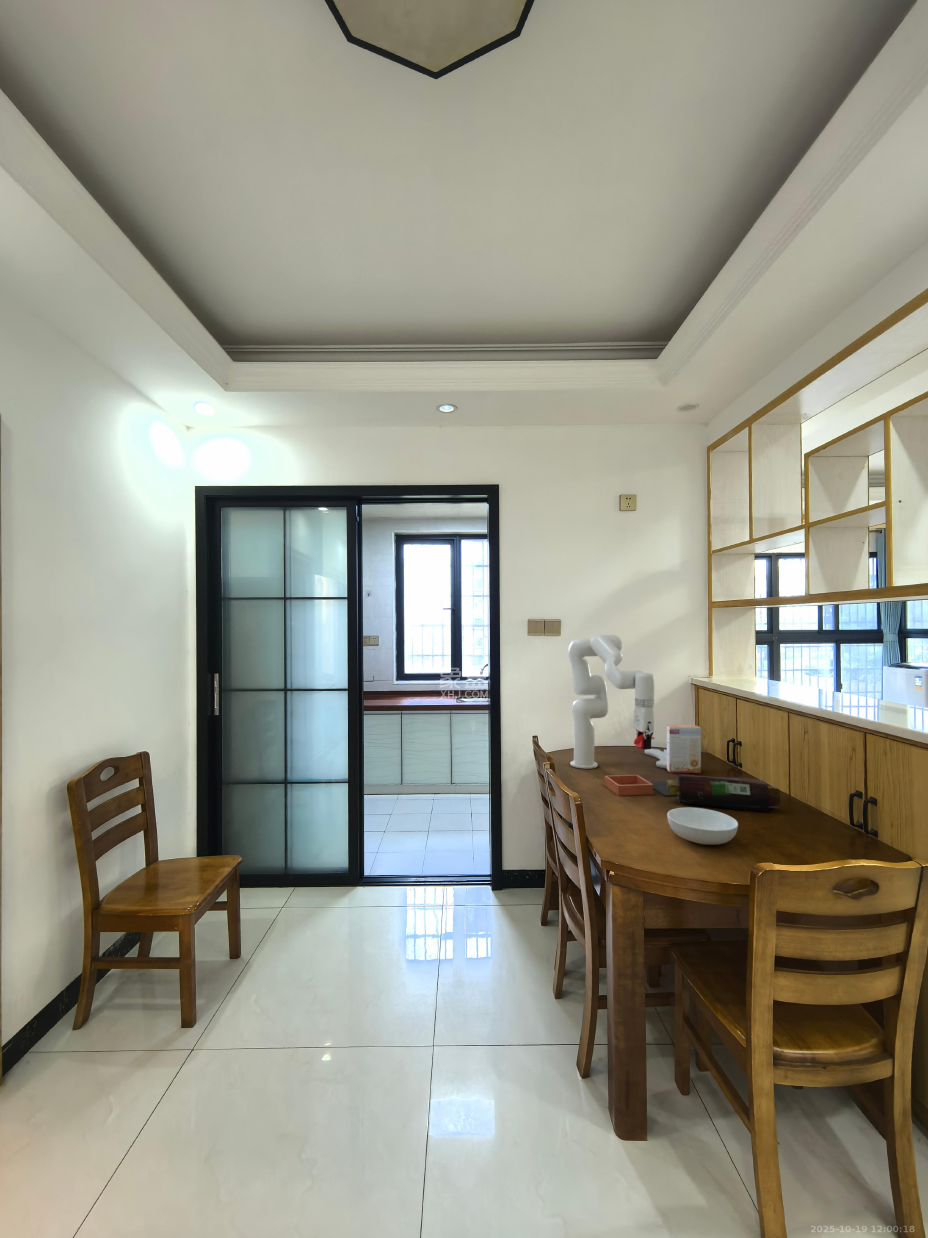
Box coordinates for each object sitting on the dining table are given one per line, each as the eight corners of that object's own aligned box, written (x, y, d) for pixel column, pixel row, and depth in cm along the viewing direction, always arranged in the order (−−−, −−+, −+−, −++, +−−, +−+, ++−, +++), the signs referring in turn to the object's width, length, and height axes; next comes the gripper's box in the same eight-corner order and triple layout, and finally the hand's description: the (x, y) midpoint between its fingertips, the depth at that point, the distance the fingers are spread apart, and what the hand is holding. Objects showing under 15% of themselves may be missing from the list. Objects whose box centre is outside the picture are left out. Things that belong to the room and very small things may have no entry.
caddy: (604, 785, 247) (604, 775, 247) (637, 784, 249) (637, 774, 249) (618, 795, 232) (618, 785, 232) (653, 794, 234) (653, 784, 234)
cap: (636, 750, 238) (636, 735, 238) (632, 747, 244) (632, 732, 244) (656, 750, 238) (656, 736, 238) (651, 747, 244) (652, 733, 244)
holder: (658, 769, 274) (659, 758, 274) (642, 752, 308) (643, 742, 308) (701, 770, 272) (701, 759, 272) (680, 753, 306) (680, 743, 306)
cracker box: (697, 770, 272) (697, 725, 272) (701, 774, 266) (701, 727, 266) (665, 769, 273) (666, 724, 273) (669, 772, 267) (669, 726, 267)
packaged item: (668, 804, 222) (668, 778, 222) (665, 797, 231) (666, 771, 231) (782, 814, 212) (783, 786, 212) (775, 805, 222) (775, 779, 222)
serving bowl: (702, 857, 174) (702, 833, 174) (653, 832, 193) (653, 811, 193) (753, 846, 182) (753, 824, 182) (701, 824, 201) (701, 804, 201)
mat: (645, 783, 250) (645, 782, 250) (676, 782, 252) (676, 781, 252) (665, 796, 232) (665, 795, 232) (698, 795, 234) (698, 794, 234)
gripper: (627, 700, 249) (626, 743, 249) (644, 706, 232) (643, 752, 232) (644, 700, 250) (643, 742, 250) (662, 706, 233) (662, 752, 233)
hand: (643, 746), depth 241 cm, fingers closed on cap, 5 cm apart
